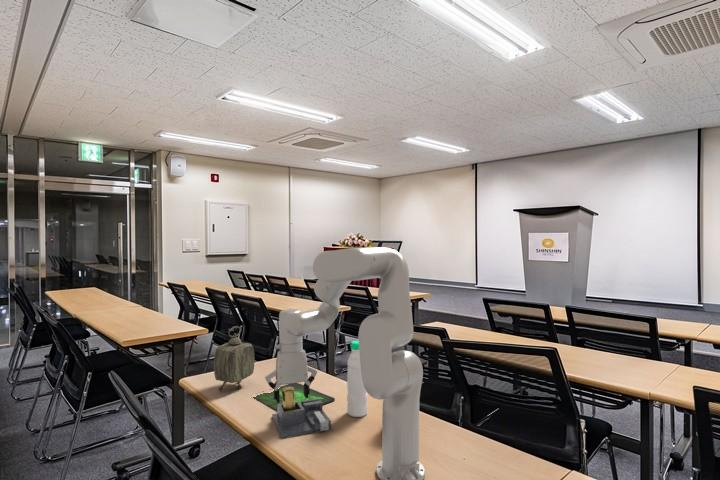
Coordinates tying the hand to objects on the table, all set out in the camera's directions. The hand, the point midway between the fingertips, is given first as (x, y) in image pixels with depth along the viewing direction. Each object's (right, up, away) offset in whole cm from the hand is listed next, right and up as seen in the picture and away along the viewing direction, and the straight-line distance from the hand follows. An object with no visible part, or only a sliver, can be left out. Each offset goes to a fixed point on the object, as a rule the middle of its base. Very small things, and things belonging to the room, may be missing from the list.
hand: (291, 399), depth 137 cm
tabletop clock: (-28, -8, +31) cm, 43 cm away
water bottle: (+22, -8, +7) cm, 24 cm away
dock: (+3, -8, 0) cm, 8 cm away
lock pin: (+10, -7, -3) cm, 12 cm away
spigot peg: (-1, -7, 0) cm, 7 cm away
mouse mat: (-3, -8, +21) cm, 23 cm away
